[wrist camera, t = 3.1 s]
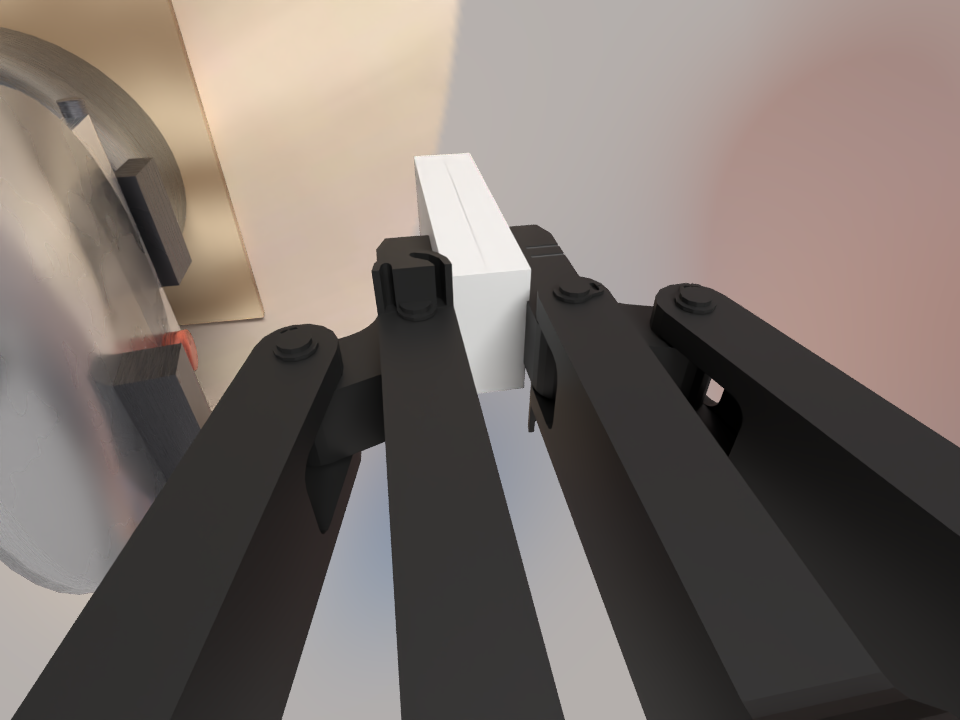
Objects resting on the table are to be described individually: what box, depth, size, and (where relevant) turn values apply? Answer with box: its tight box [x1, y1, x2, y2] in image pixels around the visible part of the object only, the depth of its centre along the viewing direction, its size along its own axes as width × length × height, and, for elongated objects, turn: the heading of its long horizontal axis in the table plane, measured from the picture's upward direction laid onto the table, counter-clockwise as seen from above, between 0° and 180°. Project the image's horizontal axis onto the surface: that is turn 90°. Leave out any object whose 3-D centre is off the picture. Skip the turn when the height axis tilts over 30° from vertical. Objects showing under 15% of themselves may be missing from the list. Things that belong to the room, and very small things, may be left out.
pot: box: [0, 27, 192, 287], centre depth 26 cm, size 24×16×9 cm, turn 0°
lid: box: [0, 85, 212, 595], centre depth 17 cm, size 14×15×3 cm
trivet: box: [0, 0, 265, 325], centre depth 29 cm, size 20×18×1 cm
